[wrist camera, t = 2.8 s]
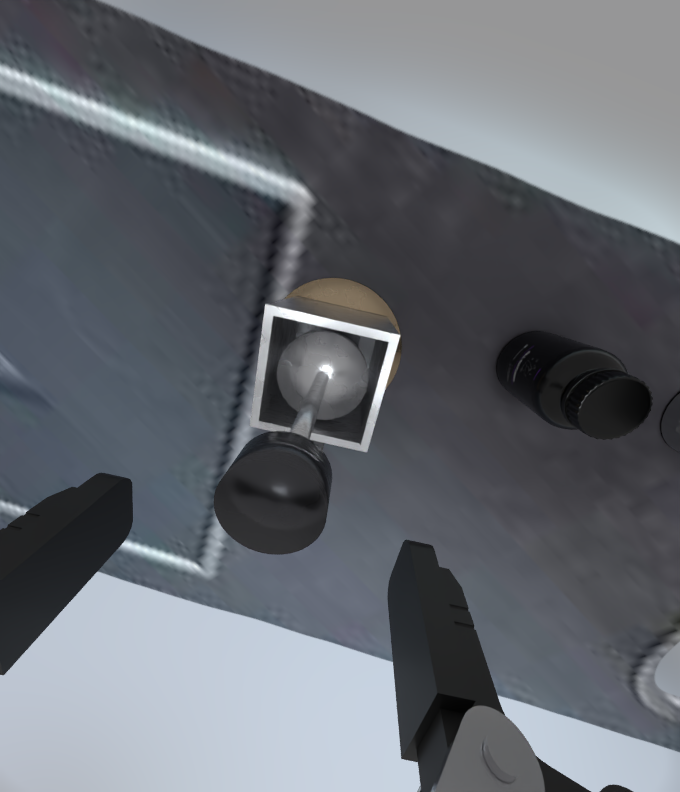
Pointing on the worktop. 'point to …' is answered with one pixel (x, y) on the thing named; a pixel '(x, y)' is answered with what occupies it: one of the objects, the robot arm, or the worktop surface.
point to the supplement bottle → (574, 385)
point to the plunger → (293, 450)
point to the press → (339, 312)
